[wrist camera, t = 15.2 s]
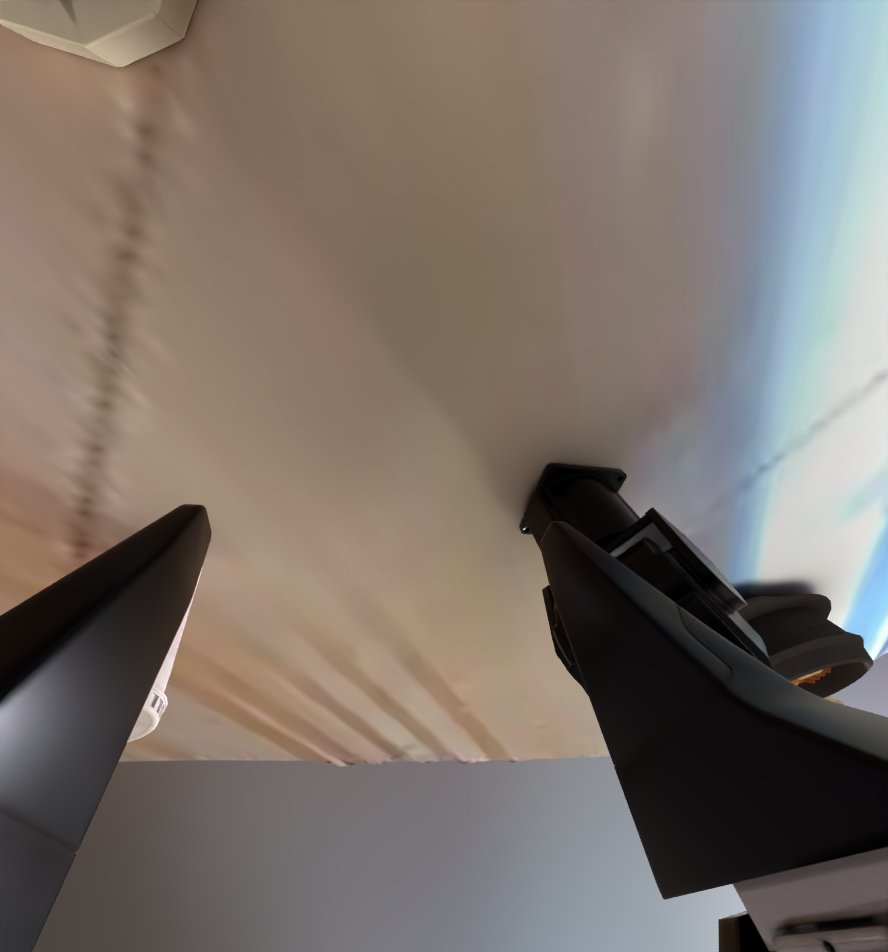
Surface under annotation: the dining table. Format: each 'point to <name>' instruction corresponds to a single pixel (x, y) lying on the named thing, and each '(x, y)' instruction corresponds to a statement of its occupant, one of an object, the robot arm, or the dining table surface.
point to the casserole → (807, 642)
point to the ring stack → (100, 26)
